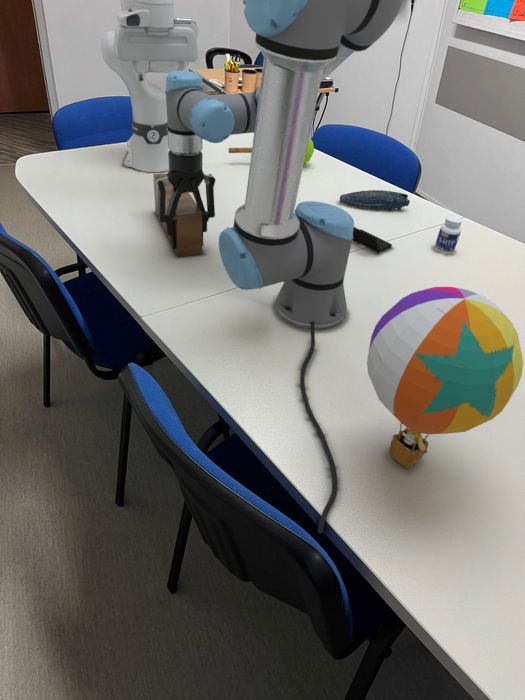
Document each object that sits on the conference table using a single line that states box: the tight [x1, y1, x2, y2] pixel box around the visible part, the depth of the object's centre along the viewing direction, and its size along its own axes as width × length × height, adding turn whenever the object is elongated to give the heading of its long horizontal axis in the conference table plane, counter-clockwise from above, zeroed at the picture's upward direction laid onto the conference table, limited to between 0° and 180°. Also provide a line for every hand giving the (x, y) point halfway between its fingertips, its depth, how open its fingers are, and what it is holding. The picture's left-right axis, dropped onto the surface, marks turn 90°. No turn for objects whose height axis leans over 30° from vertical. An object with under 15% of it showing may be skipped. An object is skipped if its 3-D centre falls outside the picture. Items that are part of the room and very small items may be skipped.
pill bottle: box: [434, 215, 463, 255], centre depth 137 cm, size 5×5×9 cm
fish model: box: [339, 189, 411, 211], centre depth 158 cm, size 7×21×5 cm, turn 84°
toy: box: [366, 286, 524, 469], centre depth 73 cm, size 20×20×30 cm
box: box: [152, 172, 203, 258], centre depth 134 cm, size 26×6×11 cm, turn 21°
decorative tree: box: [228, 137, 315, 164], centre depth 179 cm, size 18×10×30 cm
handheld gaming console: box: [352, 226, 393, 254], centre depth 138 cm, size 12×7×10 cm
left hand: (158, 80), depth 132 cm, fingers open, 8 cm apart
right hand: (187, 244), depth 129 cm, fingers closed on box, 6 cm apart
